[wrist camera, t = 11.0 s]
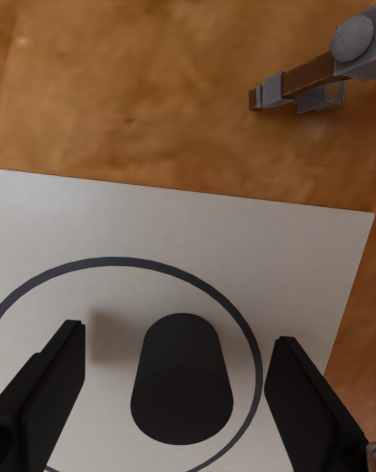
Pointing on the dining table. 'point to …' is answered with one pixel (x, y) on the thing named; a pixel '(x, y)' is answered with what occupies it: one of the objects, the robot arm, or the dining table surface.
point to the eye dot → (181, 382)
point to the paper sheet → (168, 302)
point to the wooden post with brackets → (325, 70)
